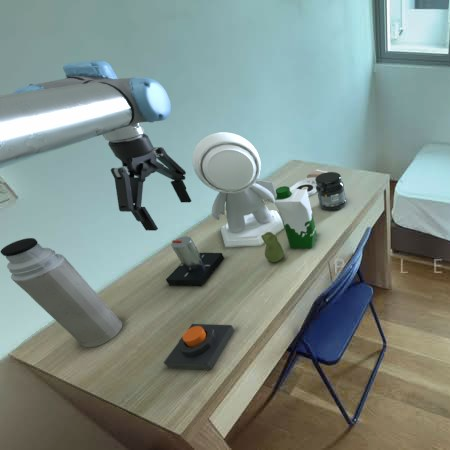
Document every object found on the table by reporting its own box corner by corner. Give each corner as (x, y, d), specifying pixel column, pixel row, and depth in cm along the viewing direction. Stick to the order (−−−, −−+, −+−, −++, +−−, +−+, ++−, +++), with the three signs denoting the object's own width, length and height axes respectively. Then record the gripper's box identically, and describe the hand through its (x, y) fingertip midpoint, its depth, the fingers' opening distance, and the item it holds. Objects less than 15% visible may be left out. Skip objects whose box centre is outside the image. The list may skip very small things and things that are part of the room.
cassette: (254, 195, 131) (248, 179, 126) (257, 193, 132) (252, 177, 128) (276, 200, 127) (271, 183, 122) (279, 198, 128) (274, 181, 124)
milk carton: (294, 234, 107) (279, 182, 95) (320, 233, 106) (308, 181, 95) (286, 250, 100) (269, 196, 88) (314, 249, 99) (300, 196, 88)
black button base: (211, 370, 67) (203, 359, 65) (168, 368, 68) (159, 357, 65) (234, 330, 75) (228, 320, 73) (195, 329, 76) (188, 318, 73)
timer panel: (202, 286, 88) (198, 280, 86) (169, 285, 88) (165, 279, 87) (224, 258, 97) (221, 252, 96) (194, 258, 98) (191, 251, 97)
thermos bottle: (75, 340, 74) (-21, 251, 58) (111, 315, 80) (34, 229, 64) (92, 352, 71) (-3, 262, 55) (129, 326, 77) (52, 237, 61)
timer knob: (207, 259, 93) (194, 235, 88) (197, 271, 89) (183, 246, 84) (192, 259, 94) (178, 235, 88) (181, 271, 90) (166, 246, 84)
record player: (333, 173, 139) (304, 193, 124) (334, 179, 140) (305, 200, 126) (313, 168, 143) (282, 188, 129) (314, 175, 145) (284, 194, 131)
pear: (287, 260, 96) (279, 234, 90) (270, 267, 93) (261, 242, 87) (281, 251, 99) (273, 226, 94) (265, 258, 97) (255, 233, 91)
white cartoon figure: (228, 256, 98) (178, 152, 78) (219, 223, 114) (176, 129, 94) (290, 235, 106) (260, 135, 86) (273, 206, 123) (244, 117, 102)
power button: (199, 347, 67) (195, 341, 66) (182, 346, 68) (178, 341, 67) (210, 331, 71) (206, 326, 70) (193, 331, 71) (189, 325, 70)
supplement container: (330, 195, 128) (325, 169, 121) (351, 200, 124) (347, 173, 117) (314, 208, 120) (307, 180, 113) (336, 213, 116) (331, 185, 110)
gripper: (94, 159, 60) (149, 243, 72) (178, 120, 80) (209, 192, 93) (59, 159, 61) (119, 243, 73) (151, 121, 81) (186, 192, 93)
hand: (170, 214), depth 83 cm, fingers open, 13 cm apart
